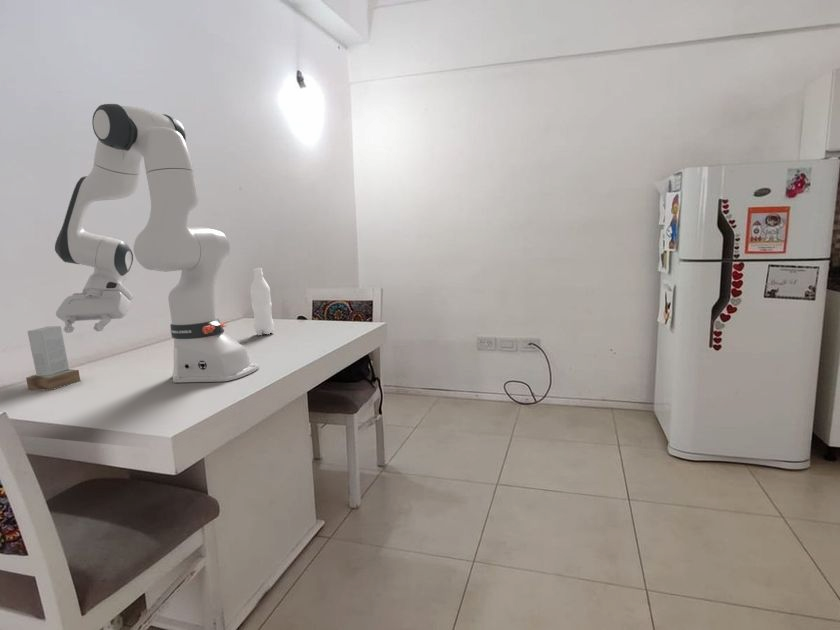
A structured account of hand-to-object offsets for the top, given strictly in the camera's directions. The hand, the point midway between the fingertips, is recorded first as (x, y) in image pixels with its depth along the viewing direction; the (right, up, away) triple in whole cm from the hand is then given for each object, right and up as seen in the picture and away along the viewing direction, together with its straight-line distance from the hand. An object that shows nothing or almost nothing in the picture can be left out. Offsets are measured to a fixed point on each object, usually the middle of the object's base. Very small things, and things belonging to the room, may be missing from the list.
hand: (82, 330), depth 138 cm
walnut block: (-1, -14, -9) cm, 17 cm away
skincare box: (-1, -11, -10) cm, 15 cm away
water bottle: (+37, -3, +46) cm, 59 cm away
